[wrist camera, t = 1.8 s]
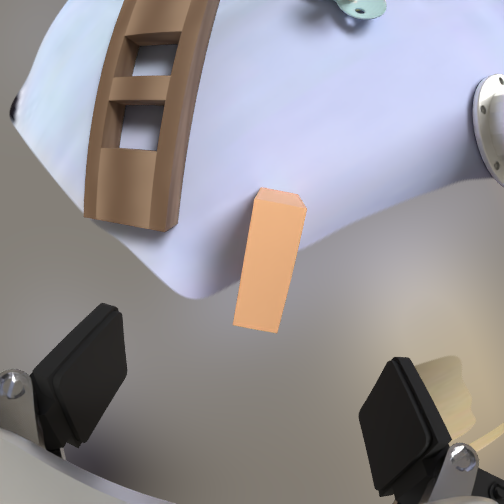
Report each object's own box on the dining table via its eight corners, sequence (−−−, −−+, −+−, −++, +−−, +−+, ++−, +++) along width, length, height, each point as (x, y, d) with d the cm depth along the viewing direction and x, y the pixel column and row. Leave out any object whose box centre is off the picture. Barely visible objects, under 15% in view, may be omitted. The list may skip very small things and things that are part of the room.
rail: (222, -7, 17) (215, -23, 14) (177, 223, 24) (165, 232, 21) (143, -2, 17) (130, -14, 14) (101, 210, 24) (83, 217, 21)
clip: (297, 194, 22) (306, 208, 16) (277, 288, 25) (277, 333, 19) (261, 187, 23) (254, 198, 16) (244, 282, 25) (232, 325, 19)
